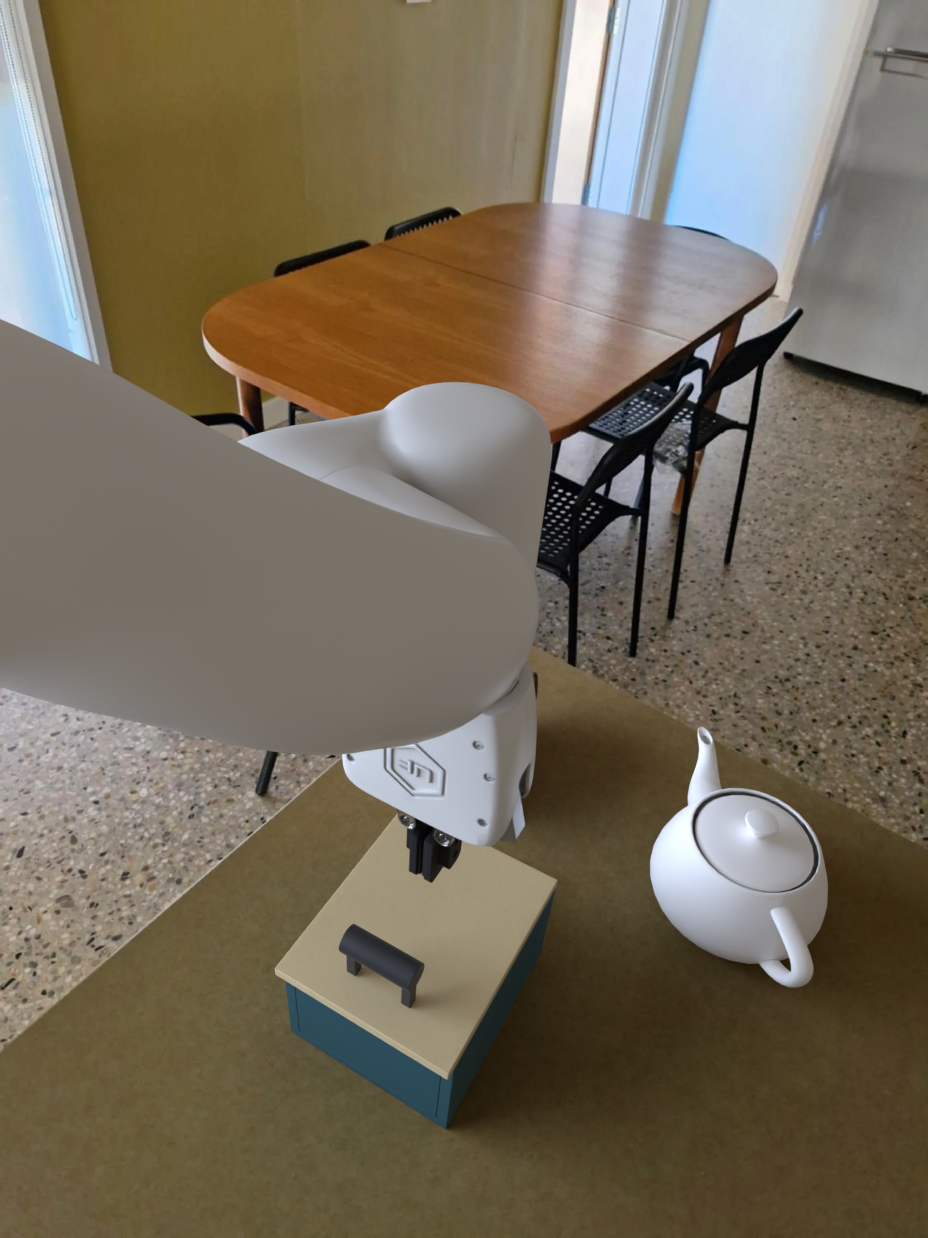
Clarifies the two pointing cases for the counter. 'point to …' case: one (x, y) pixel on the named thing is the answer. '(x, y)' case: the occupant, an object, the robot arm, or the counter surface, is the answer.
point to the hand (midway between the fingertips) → (432, 860)
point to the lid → (419, 945)
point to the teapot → (741, 874)
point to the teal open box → (396, 1067)
